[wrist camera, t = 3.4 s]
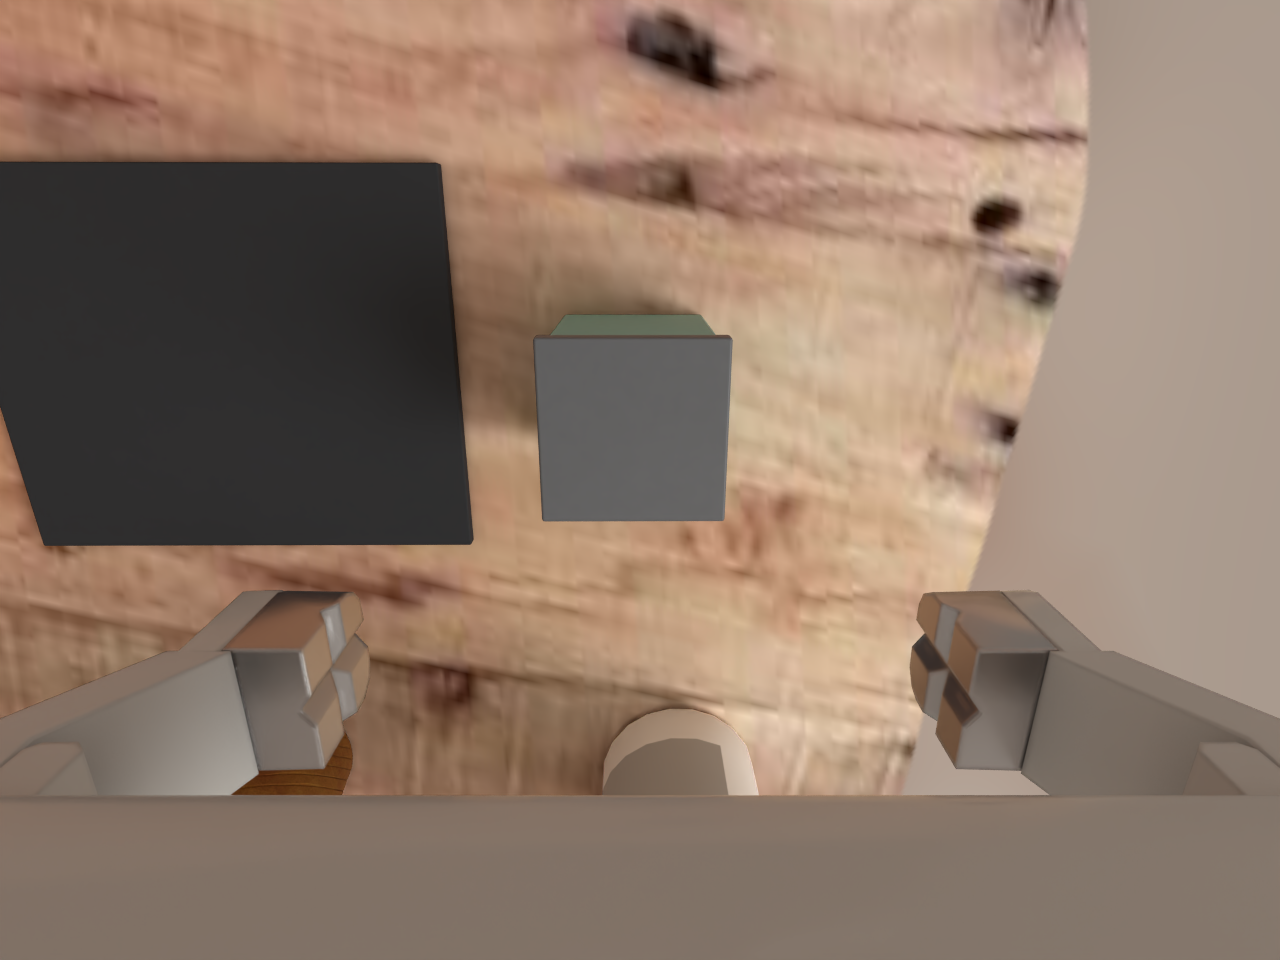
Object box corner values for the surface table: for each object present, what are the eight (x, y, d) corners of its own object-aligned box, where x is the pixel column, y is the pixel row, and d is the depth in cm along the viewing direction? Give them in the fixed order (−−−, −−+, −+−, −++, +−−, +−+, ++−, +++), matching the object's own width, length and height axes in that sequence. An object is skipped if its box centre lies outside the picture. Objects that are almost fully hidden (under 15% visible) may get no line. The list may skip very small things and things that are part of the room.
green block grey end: (563, 450, 27) (541, 521, 21) (558, 308, 25) (532, 338, 19) (702, 450, 27) (724, 521, 21) (707, 308, 26) (732, 337, 19)
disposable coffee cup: (131, 718, 31) (-150, 995, 20) (298, 626, 30) (96, 869, 19) (270, 857, 34) (92, 1167, 23) (430, 779, 33) (323, 1071, 21)
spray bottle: (648, 681, 31) (664, 1229, 14) (778, 741, 32) (939, 1314, 15) (578, 789, 33) (518, 1382, 16) (703, 841, 34) (770, 1445, 17)
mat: (53, 540, 28) (43, 546, 28) (-65, 162, 24) (-79, 161, 23) (473, 539, 29) (471, 545, 28) (441, 163, 24) (437, 162, 23)
